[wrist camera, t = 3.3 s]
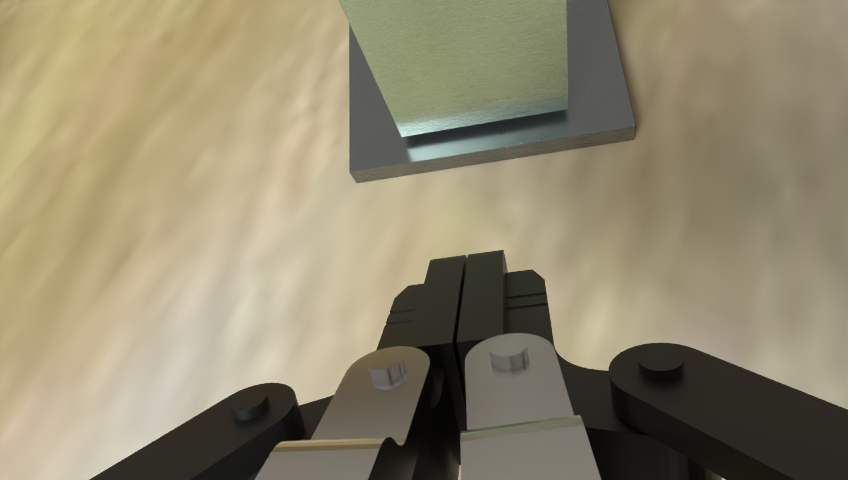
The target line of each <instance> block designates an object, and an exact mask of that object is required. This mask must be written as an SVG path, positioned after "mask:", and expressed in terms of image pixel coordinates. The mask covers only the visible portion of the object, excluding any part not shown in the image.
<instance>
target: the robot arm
mask: <svg viewBox="0 0 848 480" xmlns="http://www.w3.org/2000/svg"><path fill="white" fill-rule="evenodd" d="M459 465H461V480H722V478H724V479H726V480H848V410H847V409H844V408H842V407H839V406H837V405H834V404H832V403H829V402H827V401H824V400H822V399H819V398H817V397H814V396H812V395H809V394H807V393H804V392H802V391H799V390H797V389H794V388H791V387H789V386H786V385H784V384H781V383H779V382H776V381H774V380H771V379H769V378H766V377H764V376H761V375H759V374H756V373H754V372H751V371H749V370H746V369H744V368H741V367H739V366H736V365H734V364H731V363H729V362H726V361H724V360H721V359H719V358H716V357H714V356H711V355H709V354H706V353H704V352H701V351H699V350H696V349H693V348H690V347H687V346H683V345H679V344H671V343H650V344H643V345H639V346H635V347H632V348H629V349H627V350H625V351H623V352H621V353H620V354H618V355H617V356H616V357H615V358H614V359H613V360H612V362H611V363H610V366H609V371H603V370H594V369H587V368H583V367H579V366H577V365H574V364H571V363H569V362H567V361H566V360H564V359H563V358H562V357H561V356H560V355H559V354H558V353H557V352H556V350H555V347H554V342H553V335H552V328H551V321H550V314H549V308H548V301H547V294H546V287H545V280H544V279H543V278H542V277H541V276H540V275H538V274H537V273H536V272H535V271H533V270H525V271H517V272H509V273H508V272H507V265H506V260H505V255H504V251H503V250H499V251H491V252H484V253H477V254H469V255H468V257H466V255H463V256H456V257H448V258H441V259H434V260H430V263H429V267H428V271H427V275H426V278H425V282H424V284H418V285H410V286H408V287H407V288H405V289H404V290H403V291H402V292H401V293H400V294H399V295H398V296H397V297H396V298H395V299H394V302H393V304H392V307H391V310H390V314H389V316H388V319H387V322H386V325H385V327H384V330H383V333H382V336H381V339H380V342H379V344H378V347H377V350H376V351H374V352H372V353H369V354H367V355H365V356H363V357H362V358H360V359H358V360H357V361H356V362H355V363H353V364H352V365H351V366H350V367H349V369H348V370H347V372H346V374H345V376H344V377H343V379H342V381H341V383H340V385H339V387H338V389H337V391H336V393H335V394H334V395H332V396H330V397H327V398H323V399H320V400H317V401H313V402H310V403H307V404H303V405H300V406H299V405H298V402H297V399H296V395H295V392H294V391H293V389H292V388H291V387H289V386H287V385H285V384H280V383H265V384H259V385H255V386H251V387H248V388H245V389H243V390H241V391H238V392H236V393H234V394H232V395H231V396H229V397H227V398H225V399H224V400H222V401H220V402H219V403H217V404H215V405H214V406H212V407H210V408H209V409H207V410H205V411H204V412H202V413H200V414H199V415H197V416H195V417H194V418H192V419H190V420H189V421H187V422H185V423H184V424H182V425H180V426H179V427H177V428H175V429H174V430H172V431H170V432H168V433H167V434H165V435H163V436H162V437H160V438H158V439H157V440H155V441H153V442H152V443H150V444H148V445H147V446H145V447H143V448H142V449H140V450H138V451H137V452H135V453H133V454H132V455H130V456H128V457H127V458H125V459H123V460H122V461H120V462H118V463H117V464H115V465H113V466H112V467H110V468H108V469H107V470H105V471H103V472H102V473H100V474H98V475H96V476H95V477H93V478H91V479H90V480H458V475H459ZM721 477H722V478H721Z"/></svg>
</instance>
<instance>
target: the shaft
mask: <svg viewBox="0 0 848 480" xmlns="http://www.w3.org/2000/svg"><path fill="white" fill-rule="evenodd" d="M339 2H340V4H341V6H342V8H343V10H344V13H345V15H346V17H347V19H348V21H349V23H350V26H351V28H352V30H353V32H354V34H355V37H356V39H357V41H358V43H359V45H360V47H361V50H362V52H363V54H364V56H365V58H366V60H367V63H368V65H369V67H370V69H371V71H372V74H373V76H374V78H375V80H376V82H377V84H378V87H379V89H380V91H381V93H382V95H383V97H384V100H385V102H386V104H387V106H388V108H389V111H390V113H391V115H392V117H393V119H394V121H395V124H396V126H397V128H398V130H399V132H400V134H401V137H405V136H411V135H417V134H423V133H429V132H435V131H441V130H447V129H453V128H459V127H464V126H470V125H476V124H482V123H488V122H494V121H500V120H506V119H512V118H518V117H524V116H530V115H536V114H542V113H547V112H553V111H559V110H565V109H568V64H567V15H566V0H339Z"/></svg>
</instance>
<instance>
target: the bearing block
mask: <svg viewBox="0 0 848 480" xmlns="http://www.w3.org/2000/svg"><path fill="white" fill-rule="evenodd" d="M566 15H567V64H568V109H565V110H559V111H553V112H547V113H542V114H536V115H530V116H524V117H518V118H512V119H506V120H500V121H494V122H488V123H482V124H476V125H470V126H464V127H459V128H453V129H447V130H441V131H435V132H429V133H423V134H417V135H411V136H405V137H401V134H400V132H399V130H398V128H397V126H396V124H395V121H394V119H393V117H392V115H391V113H390V111H389V108H388V106H387V104H386V102H385V100H384V97H383V95H382V93H381V91H380V89H379V87H378V84H377V82H376V80H375V78H374V76H373V74H372V71H371V69H370V67H369V65H368V63H367V60H366V58H365V56H364V54H363V52H362V50H361V47H360V45H359V43H358V41H357V39H356V37H355V34H354V32H353V30H352V28H351V26H350V23H349V84H350V174H351V175H352V177H353V178H354V180H355V181H356V183H360V182H367V181H373V180H379V179H386V178H392V177H399V176H405V175H411V174H418V173H424V172H430V171H437V170H443V169H449V168H456V167H462V166H468V165H475V164H481V163H487V162H494V161H500V160H507V159H513V158H519V157H526V156H532V155H538V154H545V153H551V152H557V151H564V150H570V149H576V148H583V147H589V146H596V145H602V144H608V143H615V142H621V141H627V140H634V134H635V127H636V126H635V121H634V117H633V112H632V108H631V104H630V99H629V95H628V90H627V86H626V82H625V77H624V73H623V68H622V64H621V60H620V55H619V51H618V46H617V42H616V38H615V33H614V29H613V24H612V20H611V15H610V11H609V7H608V2H607V0H566Z"/></svg>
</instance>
